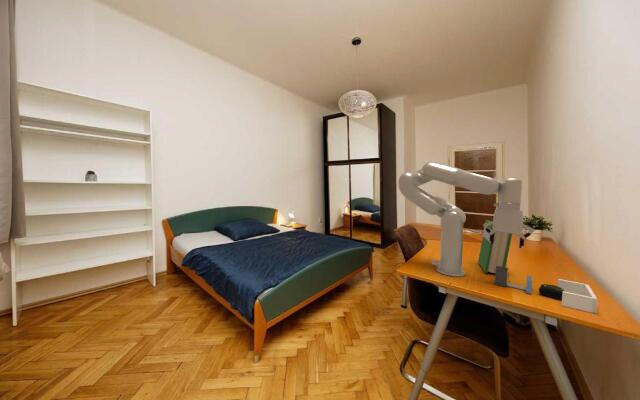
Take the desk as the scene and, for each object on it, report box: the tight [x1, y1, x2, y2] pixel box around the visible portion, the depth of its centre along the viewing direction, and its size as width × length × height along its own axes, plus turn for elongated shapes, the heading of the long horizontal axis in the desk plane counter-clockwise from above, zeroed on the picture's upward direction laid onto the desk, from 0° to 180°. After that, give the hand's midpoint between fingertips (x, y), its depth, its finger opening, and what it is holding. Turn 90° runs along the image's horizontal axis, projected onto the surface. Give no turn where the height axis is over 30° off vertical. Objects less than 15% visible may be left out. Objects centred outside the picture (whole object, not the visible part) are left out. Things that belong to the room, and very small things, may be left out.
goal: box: [557, 278, 599, 315], centre depth 86 cm, size 8×16×5 cm, turn 138°
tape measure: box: [538, 283, 565, 301], centre depth 90 cm, size 7×7×4 cm
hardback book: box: [477, 219, 513, 274], centre depth 118 cm, size 18×7×24 cm, turn 155°
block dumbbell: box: [494, 266, 533, 295], centre depth 98 cm, size 12×8×7 cm
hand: (505, 245), depth 101 cm, fingers open, 9 cm apart
